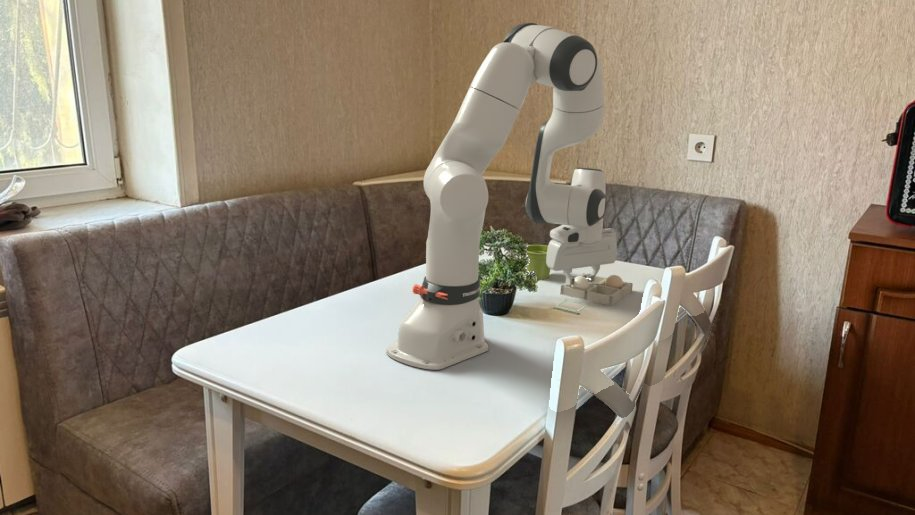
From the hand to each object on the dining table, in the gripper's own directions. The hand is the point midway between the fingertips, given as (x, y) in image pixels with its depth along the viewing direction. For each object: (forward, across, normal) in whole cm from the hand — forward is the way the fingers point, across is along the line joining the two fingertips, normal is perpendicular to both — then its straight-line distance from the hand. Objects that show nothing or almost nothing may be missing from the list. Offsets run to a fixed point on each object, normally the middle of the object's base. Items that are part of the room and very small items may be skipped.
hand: (580, 282), depth 178 cm
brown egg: (+3, -9, +3) cm, 10 cm away
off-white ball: (+3, 0, 0) cm, 3 cm away
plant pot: (+4, +2, -17) cm, 17 cm away
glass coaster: (+4, +7, +7) cm, 11 cm away
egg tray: (+4, -4, +1) cm, 6 cm away
